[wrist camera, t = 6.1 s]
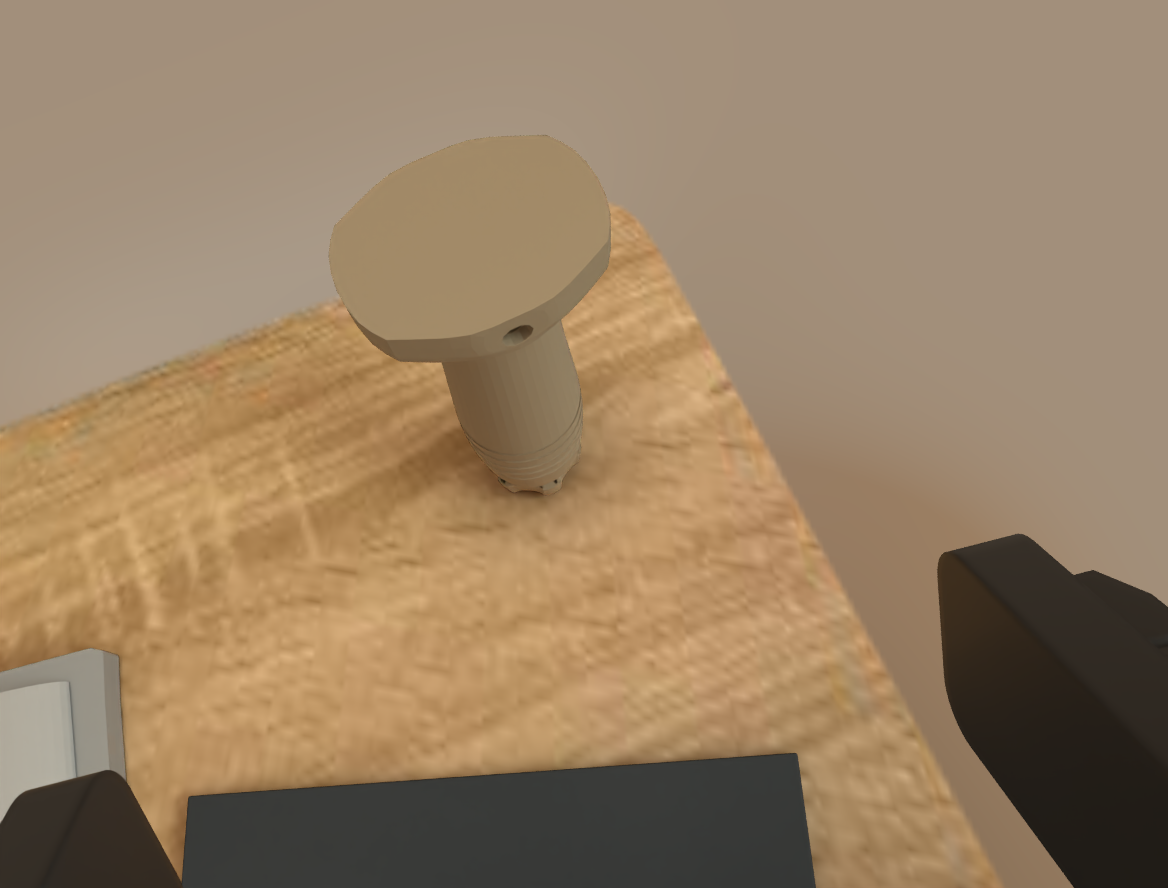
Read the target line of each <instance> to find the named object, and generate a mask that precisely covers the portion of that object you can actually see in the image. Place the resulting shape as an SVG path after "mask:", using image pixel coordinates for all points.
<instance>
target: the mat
mask: <svg viewBox="0 0 1168 888" xmlns="http://www.w3.org/2000/svg"><path fill="white" fill-rule="evenodd" d="M182 886H183V888H816V886H815V878H814V871H813V864H812V857H811V850H810V842H809V835H808V828H807V821H806V813H805V806H804V799H803V792H802V785H801V777H800V770H799V763H798V756H797V754H796V753H788V754H774V755H760V756H746V757H732V758H718V759H704V760H690V761H676V762H662V763H648V764H634V765H620V766H606V767H592V768H578V769H564V770H550V771H536V772H522V773H508V774H494V775H480V776H466V777H452V778H438V779H424V780H410V781H396V782H382V783H368V784H354V785H340V786H326V787H312V788H297V789H283V790H269V791H255V792H241V793H227V794H213V795H199V796H190V797H189V798H188V808H187V821H186V834H185V847H184V860H183V873H182Z"/></svg>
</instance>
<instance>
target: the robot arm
mask: <svg viewBox="0 0 1168 888" xmlns="http://www.w3.org/2000/svg"><path fill="white" fill-rule="evenodd" d="M937 570H938V572H937V573H938V591H939V605H940V619H941V620H940V621H941V636H942V651H943V666H944V678H945V686H946V691H947V695H948V699H949V702H950V705H951V709H952V711H953V714H954V716H955V719H956V721H957V723H958V726H959V728H960V730H961V732H962V734H963V735H964V737H965V739H966V741H967V742H968V743H969V745H970V746H971V748H972V749H973V751H974V752H975V753H976V755H977V756H978V757H979V759H980V760H981V761H982V763H983V764H984V765H985V767H986V768H987V770H988V771H989V772H990V774H991V775H992V776H993V778H994V779H995V780H996V782H997V783H998V785H999V786H1000V787H1001V789H1002V790H1003V791H1004V792H1005V794H1006V795H1007V797H1008V798H1009V800H1010V801H1011V802H1012V804H1013V805H1014V806H1015V808H1016V809H1017V810H1018V812H1019V813H1020V815H1021V816H1022V817H1023V819H1024V820H1025V821H1026V823H1027V824H1028V826H1029V827H1030V828H1031V830H1032V831H1033V832H1034V834H1035V835H1036V836H1037V838H1038V839H1039V840H1040V842H1041V843H1042V844H1043V846H1044V847H1045V849H1046V850H1047V851H1048V853H1049V854H1050V855H1051V857H1052V858H1053V860H1054V861H1055V862H1056V864H1057V865H1058V866H1059V868H1060V869H1061V870H1062V872H1063V873H1064V875H1065V876H1066V877H1067V879H1068V880H1069V881H1070V883H1071V884H1072V885H1073V887H1074V888H1168V607H1167V606H1166V605H1165V604H1163V603H1162V602H1161V601H1159V600H1158V599H1157V598H1156V597H1155V596H1153V595H1152V594H1150V593H1148V592H1145V591H1143V590H1140V589H1138V588H1135V587H1133V586H1130V585H1128V584H1126V583H1123V582H1121V581H1118V580H1116V579H1114V578H1111V577H1109V576H1106V575H1104V574H1102V573H1099V572H1097V571H1094V570H1092V571H1088V572H1084V573H1080V574H1076V575H1073V574H1071V573H1070V572H1069V571H1068V570H1067V569H1066V568H1065V567H1063V566H1062V565H1061V564H1060V563H1059V562H1058V561H1056V560H1055V559H1054V558H1053V557H1052V556H1051V555H1049V554H1048V553H1047V552H1046V551H1045V550H1044V549H1043V548H1041V547H1040V546H1039V545H1038V544H1037V543H1036V542H1035V541H1033V540H1032V539H1030V538H1029V537H1028V536H1025V535H1023V534H1015V535H1011V536H1007V537H1004V538H1000V539H996V540H992V541H988V542H984V543H980V544H977V545H973V546H969V547H964V548H961V549H957V550H953V551H949V552H945V553H943V554H942V555H941V557H940V559H939V562H938V569H937ZM0 888H183V886H182V883H181V881H180V879H179V877H178V875H177V873H176V872H175V870H174V868H173V866H172V864H171V862H170V860H169V859H168V857H167V855H166V853H165V851H164V849H163V848H162V846H161V844H160V842H159V840H158V838H157V836H156V835H155V833H154V831H153V829H152V827H151V825H150V824H149V822H148V820H147V818H146V816H145V814H144V812H143V811H142V809H141V807H140V805H139V803H138V801H137V800H136V798H135V796H134V794H133V792H132V790H131V789H130V787H129V785H128V784H127V782H126V781H125V779H124V778H123V777H122V776H121V775H120V774H118V773H117V772H115V771H112V770H104V771H100V772H96V773H92V774H88V775H84V776H80V777H77V778H73V779H69V780H65V781H61V782H57V783H53V784H49V785H45V786H41V787H38V788H34V789H30V790H26V791H24V792H23V793H21V794H20V795H19V796H18V797H17V798H16V799H15V800H14V801H13V803H12V804H11V806H10V807H9V809H8V811H7V813H6V814H5V816H4V818H3V820H2V821H1V823H0Z"/></svg>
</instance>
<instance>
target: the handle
mask: <svg viewBox="0 0 1168 888" xmlns="http://www.w3.org/2000/svg"><path fill="white" fill-rule="evenodd" d="M610 250H611V221H610V210H609V206H608V202H607V198H606V195H605V192H604V190H603V188H602V186H601V184H600V182H599V180H598V178H597V176H596V175H595V173H594V172H593V171H592V169H591V168H590V167H589V165H588V164H587V162H586V161H585V160H584V159H583V158H582V157H581V156H580V155H579V154H578V153H576V151H575V150H573V149H572V148H570V147H568V146H567V145H565V144H564V143H562V142H561V141H558V140H556V139H554V138H552V137H550V136H547V135H529V136H502V137H488V138H480V139H474V140H468V141H465V142H461V143H458V144H455V145H452V146H449V147H447V148H444V149H442V150H440V151H437V152H435V153H433V154H430V155H428V156H426V157H423V158H421V159H418V160H416V161H414V162H412V163H409V164H407V165H406V166H403V167H402V168H400V169H398V170H396V171H394V172H392V173H390V174H389V175H388V176H387V177H385V178H384V179H383V180H382V181H380V182H379V183H378V184H376V185H375V186H374V187H373V188H372V189H371V190H370V191H369V192H368V193H367V194H366V195H365V196H364V197H363V198H362V199H361V200H360V201H358V202H357V204H355V206H354V207H353V208H352V209H351V210H350V211H349V212H348V213H347V214H346V215H345V216H344V217H343V218H342V219H341V220H340V221H339V222H338V223H337V224H336V225H335V226H334V229H333V233H332V237H331V241H330V248H329V262H330V270H331V274H332V278H333V281H334V284H335V287H336V289H337V292H338V294H339V296H340V297H341V299H342V301H343V303H344V305H345V306H346V308H347V310H348V312H349V313H350V315H351V317H352V318H353V320H354V322H355V323H356V325H357V326H358V328H359V329H360V330H361V331H362V332H363V334H364V335H365V336H366V337H367V338H368V340H369V341H370V342H371V343H372V344H373V345H374V346H376V347H377V348H379V349H380V350H381V351H383V352H384V353H385V354H387V355H389V356H391V357H393V358H395V359H396V360H398V361H402V362H442V365H443V368H444V372H445V375H446V379H447V382H448V386H449V389H450V393H451V396H452V399H453V403H454V406H455V410H456V413H457V416H458V419H459V421H460V424H461V426H462V428H463V430H464V433H465V435H466V437H467V439H468V440H469V442H470V444H471V446H472V447H473V449H474V450H475V451H476V453H477V454H478V456H479V457H480V458H481V460H482V461H483V462H484V463H485V464H486V465H487V467H488V468H489V469H490V470H491V471H493V472H494V473H495V474H496V475H497V476H499V477H498V480H499V482H500V483H501V484H502V485H503V486H504V487H505V488H507V489H508V490H510V491H511V492H513V493H515V492H517V491H522V490H532V491H537V492H540V493H542V494H543V495H545V496H546V495H551V494H554V493H555V492H557V491H559V490H560V489H561V486H562V480H563V478H564V476H565V474H566V473H567V472H568V470H569V469H570V468H571V467H572V466H573V465H575V464H577V463H578V461H579V459H580V452H581V436H582V428H583V404H582V396H581V389H580V384H579V379H578V376H577V372H576V369H575V366H574V362H573V359H572V356H571V353H570V349H569V346H568V343H567V340H566V336H565V333H564V330H563V326H562V322H561V319H562V318H563V317H565V316H566V315H567V314H568V313H569V312H570V311H571V310H572V309H573V308H574V307H575V306H576V305H577V304H578V303H579V302H580V301H581V299H582V298H583V297H584V296H585V295H586V294H587V293H588V292H589V290H590V289H591V288H592V287H593V286H594V284H595V283H596V282H597V281H598V279H599V278H600V277H601V276H602V274H603V273H604V272H605V270H606V269H607V267H608V264H609V257H610Z"/></svg>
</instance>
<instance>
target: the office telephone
mask: <svg viewBox="0 0 1168 888" xmlns="http://www.w3.org/2000/svg"><path fill="white" fill-rule="evenodd" d="M104 770H112V771H115V772H117V773H118V774H120V775H121V776H122V777H123V778H124V779H125V781H126V775H125V761H124V747H123V733H122V719H121V705H120V681H119V657H118V656H117V655H116V654H113V653H109V652H106V651H103V650H96V649H93V648H89V649H85V650H82V651H78V652H74V653H70V654H67V655H63V656H59V657H55V658H52V659H48V660H44V661H40V662H37V663H33V664H29V665H26V666H22V667H18V668H14V669H11V670H7V671H3V672H0V823H1V821H2V820H3V818H4V816H5V814H6V813H7V811H8V809H9V807H10V806H11V804H12V803H13V801H14V800H15V799H16V798H17V797H18V796H19V795H20V794H21V793H23V792H24V791H26V790H30V789H34V788H38V787H41V786H45V785H49V784H53V783H57V782H61V781H65V780H69V779H73V778H77V777H80V776H84V775H88V774H92V773H96V772H100V771H104Z"/></svg>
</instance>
